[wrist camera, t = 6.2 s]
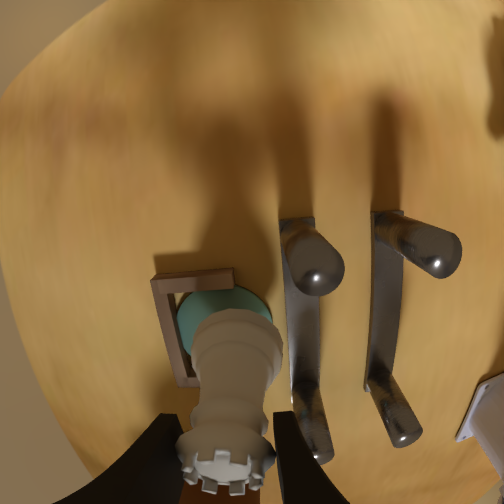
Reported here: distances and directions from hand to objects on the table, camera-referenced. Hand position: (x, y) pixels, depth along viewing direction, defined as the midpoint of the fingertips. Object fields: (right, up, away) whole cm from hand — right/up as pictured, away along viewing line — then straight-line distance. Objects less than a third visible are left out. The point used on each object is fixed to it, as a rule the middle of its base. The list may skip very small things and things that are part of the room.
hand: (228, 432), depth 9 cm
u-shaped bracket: (-1, +2, +8) cm, 8 cm away
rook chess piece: (0, +2, +6) cm, 6 cm away
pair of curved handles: (+6, +3, +8) cm, 10 cm away
